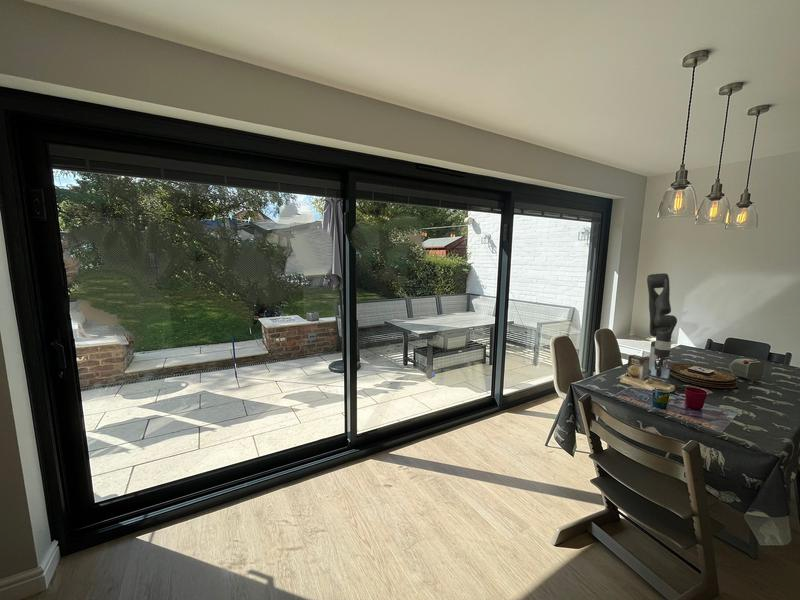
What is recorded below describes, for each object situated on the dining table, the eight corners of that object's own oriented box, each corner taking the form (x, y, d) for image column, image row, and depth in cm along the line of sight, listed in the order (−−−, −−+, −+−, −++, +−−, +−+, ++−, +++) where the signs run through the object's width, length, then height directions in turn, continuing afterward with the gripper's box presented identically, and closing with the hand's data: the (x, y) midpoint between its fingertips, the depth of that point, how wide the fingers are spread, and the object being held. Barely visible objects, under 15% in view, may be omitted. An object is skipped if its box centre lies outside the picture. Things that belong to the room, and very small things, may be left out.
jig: (628, 377, 219) (628, 372, 218) (674, 389, 199) (675, 383, 198) (619, 381, 211) (620, 375, 211) (667, 394, 191) (668, 388, 191)
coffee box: (625, 379, 212) (627, 355, 210) (631, 378, 215) (633, 354, 213) (641, 384, 204) (643, 359, 202) (647, 382, 207) (649, 358, 205)
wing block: (652, 373, 204) (653, 365, 203) (668, 377, 197) (669, 369, 197) (650, 374, 201) (651, 367, 200) (667, 378, 195) (668, 370, 194)
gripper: (659, 344, 204) (656, 371, 206) (650, 348, 196) (647, 376, 198) (674, 347, 198) (671, 375, 200) (666, 351, 190) (663, 379, 192)
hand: (659, 375), depth 199 cm, fingers closed on wing block, 4 cm apart
